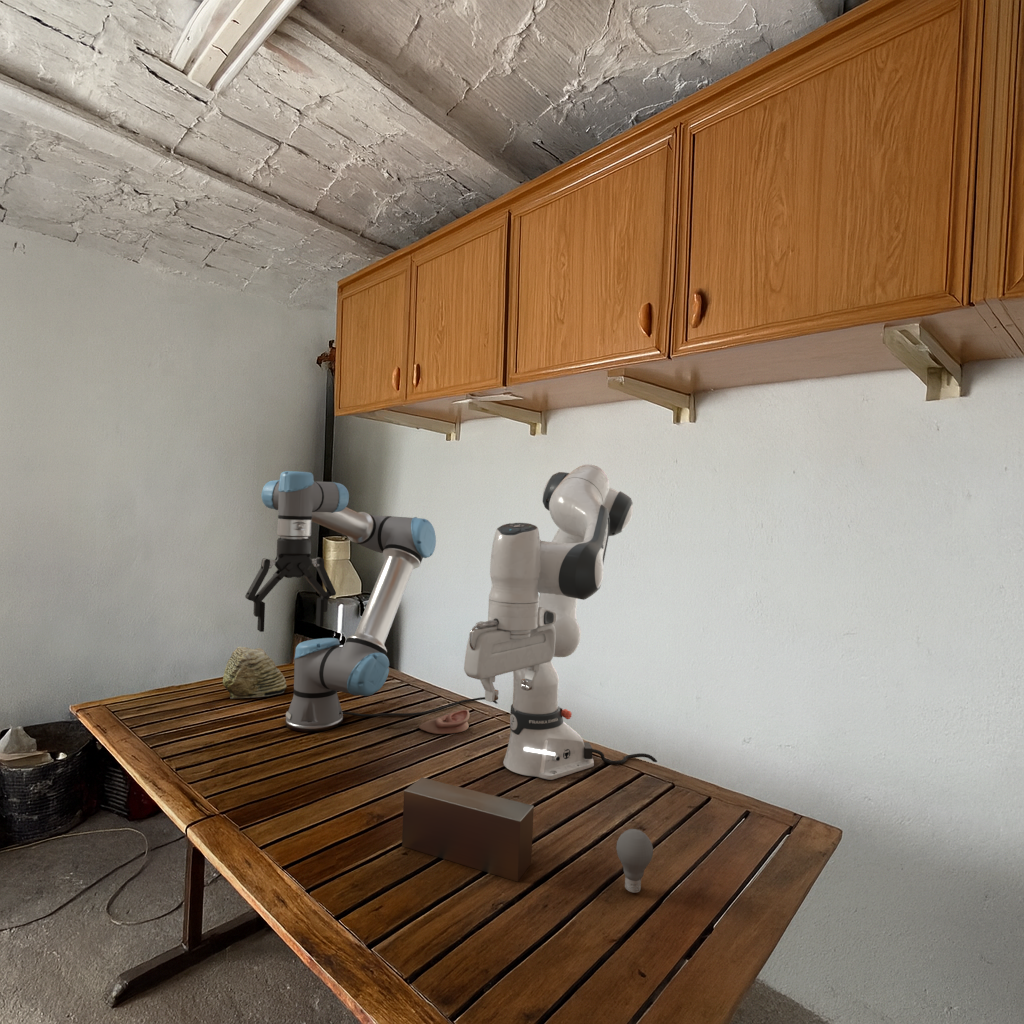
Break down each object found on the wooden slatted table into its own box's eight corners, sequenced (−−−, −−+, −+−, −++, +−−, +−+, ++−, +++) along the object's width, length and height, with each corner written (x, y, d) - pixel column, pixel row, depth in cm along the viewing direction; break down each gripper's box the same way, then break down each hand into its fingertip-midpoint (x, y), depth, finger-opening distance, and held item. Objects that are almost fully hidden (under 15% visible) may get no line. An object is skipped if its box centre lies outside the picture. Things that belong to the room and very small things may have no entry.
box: (401, 846, 116) (403, 790, 116) (419, 830, 122) (421, 777, 122) (517, 882, 107) (520, 821, 107) (531, 863, 113) (534, 805, 112)
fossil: (218, 695, 195) (220, 647, 195) (278, 685, 208) (279, 640, 207) (228, 703, 189) (230, 653, 188) (289, 692, 201) (290, 645, 201)
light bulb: (610, 879, 108) (613, 822, 108) (644, 879, 109) (647, 822, 109) (619, 902, 102) (622, 840, 102) (655, 901, 103) (658, 840, 103)
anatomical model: (415, 716, 173) (429, 704, 184) (414, 731, 173) (428, 717, 184) (462, 722, 170) (473, 709, 181) (461, 737, 170) (472, 722, 181)
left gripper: (241, 538, 137) (238, 636, 138) (351, 538, 152) (348, 626, 152) (233, 536, 143) (230, 629, 144) (339, 536, 158) (336, 621, 159)
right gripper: (484, 626, 101) (481, 712, 101) (562, 612, 116) (559, 687, 116) (457, 620, 105) (454, 703, 105) (536, 607, 120) (532, 680, 120)
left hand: (290, 628), depth 148 cm, fingers open, 13 cm apart
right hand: (510, 694), depth 111 cm, fingers open, 8 cm apart
